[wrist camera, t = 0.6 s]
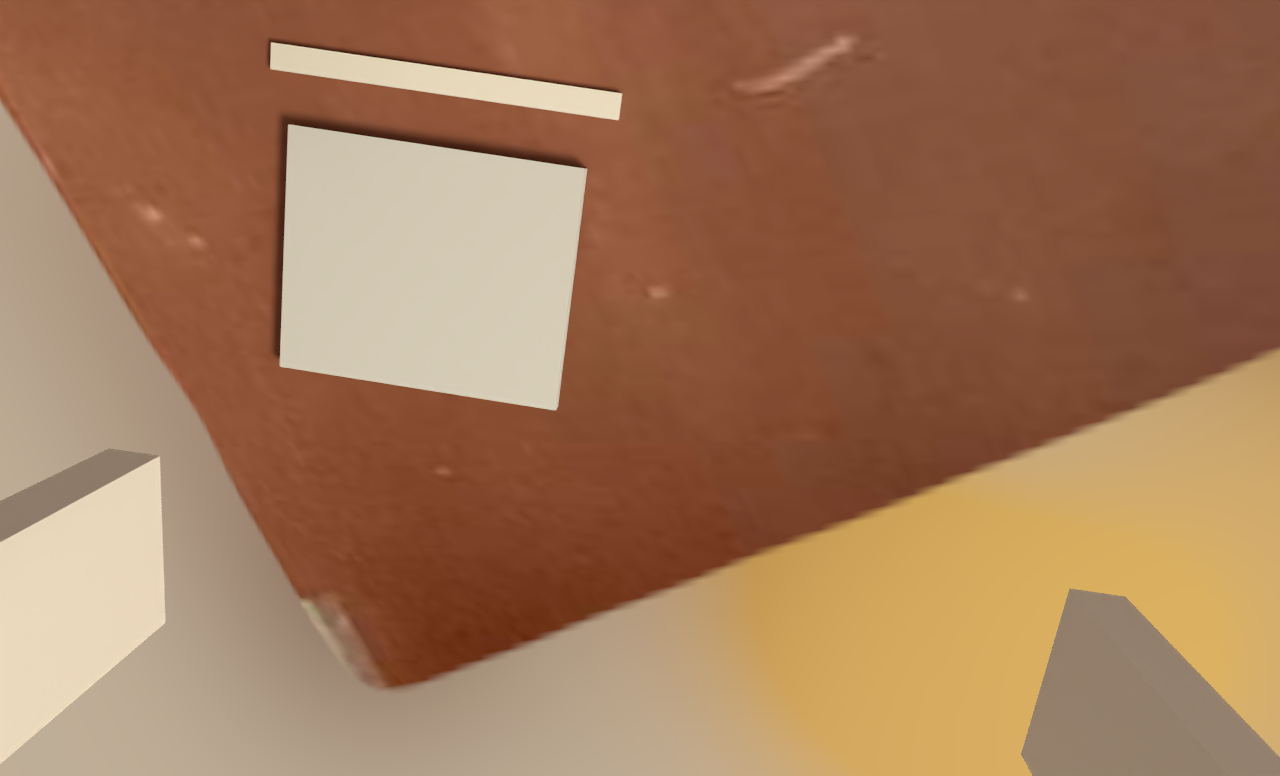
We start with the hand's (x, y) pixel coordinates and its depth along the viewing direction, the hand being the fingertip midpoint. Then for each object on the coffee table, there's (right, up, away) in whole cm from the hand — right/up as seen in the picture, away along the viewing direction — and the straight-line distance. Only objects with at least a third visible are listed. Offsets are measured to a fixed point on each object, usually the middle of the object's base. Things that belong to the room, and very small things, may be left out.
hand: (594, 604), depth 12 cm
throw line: (-7, +15, +21) cm, 27 cm away
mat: (-8, +8, +23) cm, 26 cm away
